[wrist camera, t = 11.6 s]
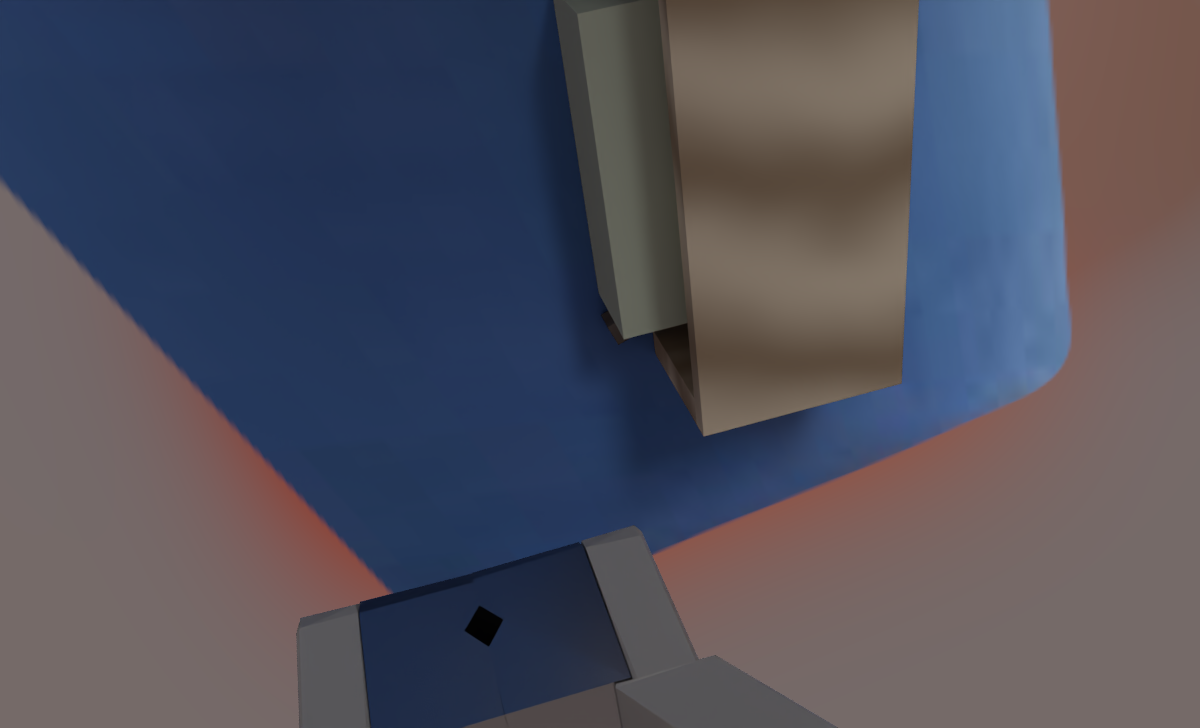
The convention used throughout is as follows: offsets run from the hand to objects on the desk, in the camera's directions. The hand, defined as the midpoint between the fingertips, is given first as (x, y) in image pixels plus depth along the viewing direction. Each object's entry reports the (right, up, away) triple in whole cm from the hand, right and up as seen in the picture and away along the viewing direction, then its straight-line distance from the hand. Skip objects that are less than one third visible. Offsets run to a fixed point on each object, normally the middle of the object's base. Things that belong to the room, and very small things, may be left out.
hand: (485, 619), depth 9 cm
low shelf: (+5, +12, +30) cm, 32 cm away
